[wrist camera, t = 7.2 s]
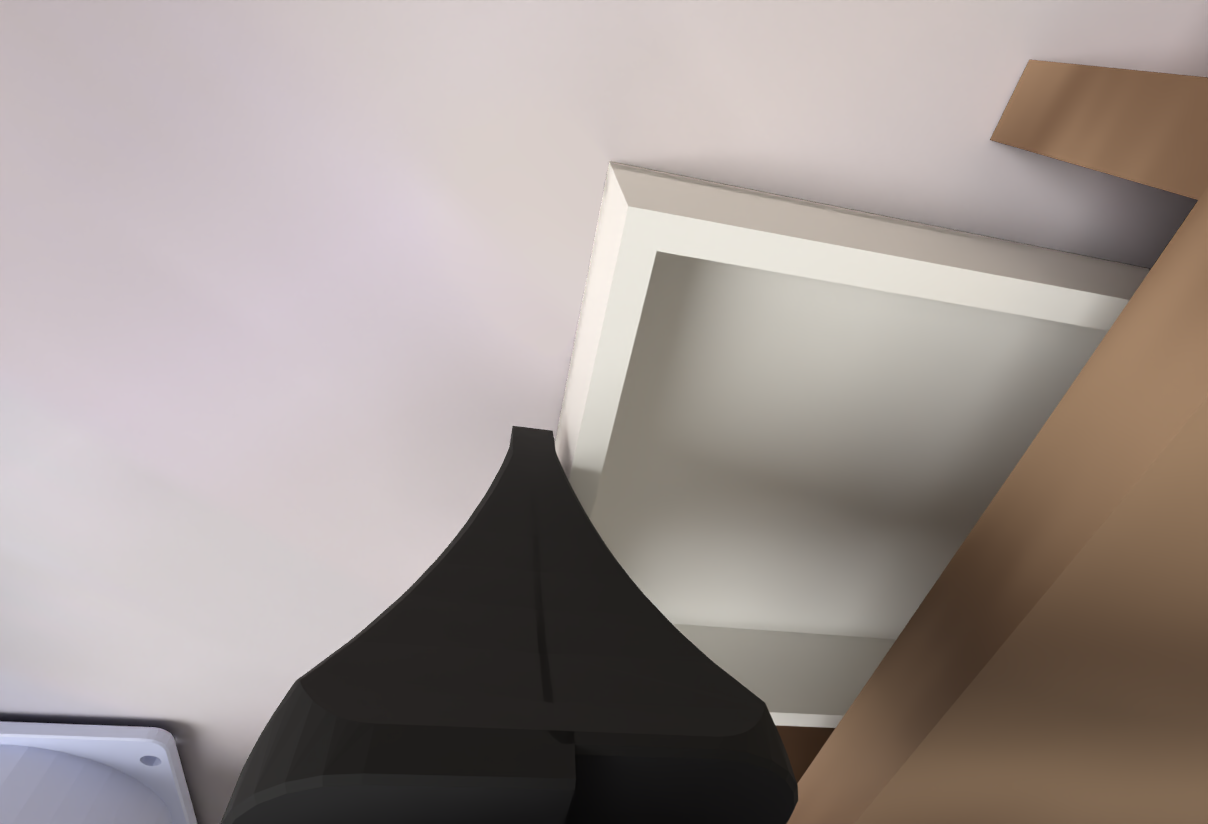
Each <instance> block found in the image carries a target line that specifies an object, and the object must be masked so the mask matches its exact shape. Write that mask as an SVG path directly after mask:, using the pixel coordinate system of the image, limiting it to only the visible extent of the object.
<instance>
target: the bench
mask: <svg viewBox="0 0 1208 824" xmlns="http://www.w3.org/2000/svg"><path fill="white" fill-rule="evenodd" d="M990 140H992V141H996V142H999V143H1003V144H1006V145H1010V146H1013V147H1017V148H1020V149H1024V150H1027V151H1030V152H1034V153H1037V154H1041V155H1044V156H1048V157H1051V158H1055V159H1058V160H1062V161H1065V162H1068V163H1072V164H1075V165H1079V166H1082V167H1086V168H1089V169H1093V170H1096V171H1100V172H1103V173H1106V174H1110V175H1113V176H1117V177H1120V178H1124V179H1127V180H1131V181H1134V182H1138V183H1141V184H1144V185H1148V186H1151V187H1155V188H1158V189H1162V190H1165V191H1169V192H1172V193H1176V194H1179V195H1182V196H1186V197H1189V198H1193V199H1196V200H1198V201H1197V203H1196V204H1195V206H1194V207H1193V209H1192V210H1191V212H1190V213H1189V214H1188V216H1187V217H1186V219H1185V220H1184V222H1183V223H1182V225H1181V226H1180V228H1179V229H1178V230H1177V232H1176V233H1175V235H1174V236H1173V238H1172V239H1171V241H1170V242H1169V244H1168V245H1167V246H1166V248H1165V249H1164V251H1163V252H1162V254H1161V255H1160V257H1159V258H1158V260H1157V261H1156V262H1155V264H1154V265H1153V267H1152V268H1151V270H1150V271H1149V273H1148V274H1147V276H1146V277H1145V278H1144V280H1143V281H1142V283H1141V284H1140V286H1139V287H1138V289H1137V290H1136V292H1135V293H1134V294H1133V296H1132V297H1131V299H1130V300H1129V302H1128V303H1127V305H1126V306H1125V308H1124V309H1123V310H1122V312H1121V313H1120V315H1119V316H1118V318H1117V319H1116V321H1115V322H1114V324H1113V325H1112V326H1111V328H1110V329H1109V331H1108V332H1107V334H1106V335H1105V337H1104V338H1103V340H1102V341H1101V342H1100V344H1099V345H1098V347H1097V348H1096V350H1095V351H1094V353H1093V354H1092V356H1091V357H1090V358H1089V360H1088V361H1087V363H1086V364H1085V366H1084V367H1083V369H1082V370H1081V372H1080V373H1079V374H1078V376H1077V377H1076V379H1075V380H1074V382H1073V383H1072V385H1071V386H1070V388H1069V389H1068V390H1067V392H1066V393H1065V395H1064V396H1063V398H1062V399H1061V401H1060V402H1059V404H1058V405H1057V407H1056V408H1055V409H1054V411H1053V412H1052V414H1051V415H1050V417H1049V418H1048V420H1047V421H1046V423H1045V424H1044V425H1043V427H1042V428H1041V430H1040V431H1039V433H1038V434H1037V436H1036V437H1035V439H1034V440H1033V441H1032V443H1031V444H1030V446H1029V447H1028V449H1027V450H1026V452H1025V453H1024V455H1023V456H1022V457H1021V459H1020V460H1019V462H1018V463H1017V465H1016V466H1015V468H1014V469H1013V471H1012V472H1011V473H1010V475H1009V476H1008V478H1007V479H1006V481H1005V482H1004V484H1003V485H1002V487H1001V488H1000V489H999V491H998V492H997V494H996V495H995V497H994V498H993V500H992V501H991V503H990V504H989V505H988V507H987V508H986V510H985V511H984V513H983V514H982V516H981V517H980V519H979V520H978V521H977V523H976V524H975V526H974V527H973V529H972V530H971V532H970V533H969V535H968V536H967V537H966V539H965V540H964V542H963V543H962V545H961V546H960V548H959V549H958V551H957V552H956V553H955V555H954V556H953V558H952V559H951V561H950V562H949V564H948V565H947V567H946V568H945V569H944V571H943V572H942V574H941V575H940V577H939V578H938V580H937V581H936V583H935V584H934V585H933V587H932V588H931V590H930V591H929V593H928V594H927V596H926V597H925V599H924V600H923V601H922V603H921V604H920V606H919V607H918V609H917V610H916V612H915V613H914V615H913V616H912V617H911V619H910V620H909V622H908V623H907V625H906V626H905V628H904V629H903V631H902V632H901V633H900V635H899V636H898V638H897V639H896V641H895V642H894V644H893V645H892V647H891V648H890V649H889V651H888V652H887V654H886V655H885V657H884V658H883V660H882V661H881V663H880V664H879V666H878V667H877V668H876V670H875V671H874V673H873V674H872V676H871V677H870V679H869V680H868V682H867V683H866V684H865V686H864V687H863V689H862V690H861V692H860V693H859V695H858V696H857V698H856V699H855V700H854V702H853V703H852V705H851V706H850V708H849V709H848V711H847V712H846V714H845V715H844V716H843V718H842V719H841V721H840V722H839V724H838V725H837V727H836V728H826V727H803V726H779V725H775V726H776V728H777V730H778V732H779V734H780V737H781V739H782V742H783V744H784V747H785V749H786V752H787V754H788V757H789V760H790V764H791V767H792V770H793V773H794V776H795V779H796V782H797V785H798V802H797V804H796V806H795V809H794V811H793V813H792V815H791V817H790V819H789V820H788V822H787V823H786V824H1208V78H1207V77H1197V76H1187V75H1177V74H1167V73H1157V72H1147V71H1137V70H1127V69H1117V68H1107V67H1097V66H1087V65H1077V64H1067V63H1057V62H1047V61H1037V60H1029V62H1028V64H1027V66H1026V68H1025V70H1024V72H1023V74H1022V76H1021V78H1020V80H1019V82H1018V84H1017V86H1016V88H1015V90H1014V92H1013V94H1012V96H1011V98H1010V100H1009V102H1008V104H1007V106H1006V108H1005V110H1004V112H1003V114H1002V117H1001V119H1000V121H999V123H998V125H997V127H996V129H995V131H994V133H993V135H992V137H991V139H990Z"/></svg>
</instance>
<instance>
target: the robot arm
mask: <svg viewBox="0 0 1208 824" xmlns="http://www.w3.org/2000/svg"><path fill="white" fill-rule="evenodd" d="M797 802H798V785H797V782H796V779H795V776H794V773H793V770H792V767H791V764H790V760H789V757H788V754H787V752H786V749H785V747H784V744H783V742H782V739H781V737H780V734H779V732H778V730H777V728H776V726H775V724H774V721H773V719H772V717H771V715H770V713H769V710H768V708H767V706H766V703H765V702H764V701H762V700H761V699H760V698H759V697H757V696H756V695H755V694H754V693H752V692H751V691H750V690H748V689H747V688H746V687H745V686H743V685H742V684H741V683H740V682H738V681H737V680H736V679H734V678H733V677H732V676H731V675H729V674H728V673H727V672H726V671H724V670H723V669H722V668H720V667H719V666H718V665H717V664H715V663H714V662H713V661H712V660H711V659H709V658H708V657H707V656H706V655H705V654H704V653H703V652H702V651H701V650H699V649H698V648H697V647H696V646H695V645H694V644H693V643H692V642H691V641H690V640H688V639H687V638H686V637H685V636H684V635H683V634H682V633H681V632H680V631H679V630H678V629H677V628H676V627H675V626H674V625H673V624H672V623H671V622H670V621H669V620H668V619H667V618H666V617H665V616H664V615H663V614H662V613H661V612H660V611H659V610H658V609H657V607H656V606H655V605H654V604H653V603H652V602H651V601H650V600H649V599H648V598H647V597H646V596H645V595H644V594H643V592H642V591H641V590H640V589H639V588H638V586H637V585H636V584H635V583H634V582H633V580H632V579H631V578H630V577H629V575H628V574H627V573H626V572H625V570H624V569H623V568H622V566H621V565H620V564H619V562H618V561H617V560H616V558H615V557H614V556H613V554H612V553H611V551H610V550H609V549H608V547H607V546H606V544H605V543H604V541H603V540H602V538H601V537H600V535H599V533H598V532H597V530H596V529H595V527H594V526H593V524H592V522H591V521H590V519H589V517H588V516H587V514H586V512H585V510H584V509H583V507H582V505H581V503H580V501H579V500H578V498H577V496H576V494H575V492H574V490H573V488H572V486H571V484H570V482H569V480H568V478H567V476H566V474H565V472H564V470H563V468H562V465H561V463H560V461H559V458H558V456H557V453H556V450H555V442H554V437H553V431H550V430H541V429H533V428H525V427H517V426H513V428H512V434H511V441H510V447H509V450H508V452H507V455H506V457H505V459H504V461H503V464H502V466H501V468H500V470H499V472H498V473H497V475H496V477H495V479H494V481H493V482H492V484H491V486H490V488H489V489H488V491H487V493H486V494H485V496H484V498H483V499H482V501H481V502H480V504H479V505H478V506H477V508H476V509H475V511H474V512H473V514H472V515H471V517H470V518H469V520H468V521H467V523H466V524H465V525H464V527H463V528H462V529H461V531H460V532H459V533H458V534H457V536H456V537H455V538H454V540H453V541H452V542H451V543H450V544H449V546H448V547H447V548H446V549H445V550H444V552H443V553H442V554H441V555H440V556H439V557H438V559H437V560H436V561H435V562H434V563H433V564H432V565H431V566H430V567H429V568H428V569H427V570H426V571H425V573H424V574H423V575H422V576H421V577H420V578H419V579H418V580H417V581H416V582H415V583H414V584H413V585H412V586H411V587H410V588H409V589H408V590H407V591H406V592H405V593H404V594H403V595H402V596H401V597H400V598H399V599H398V600H396V601H395V602H394V603H393V604H392V605H391V606H390V607H389V608H387V609H386V610H385V611H384V612H383V613H382V614H381V615H379V616H378V617H377V618H376V619H375V620H374V621H373V622H372V623H370V624H369V625H368V626H367V627H366V628H365V629H364V630H362V631H361V632H360V633H359V634H358V635H356V636H355V637H354V638H353V639H351V640H350V641H349V642H348V643H346V644H345V645H344V646H342V647H341V648H340V649H338V650H337V651H335V652H334V653H333V654H331V655H330V656H329V657H327V658H326V659H325V660H323V661H322V662H321V663H319V664H318V665H317V666H315V667H314V668H313V669H311V670H310V671H309V672H307V673H306V674H305V675H303V676H302V677H300V678H299V679H298V680H297V681H296V682H295V683H294V684H293V686H292V687H291V689H290V690H289V691H288V693H287V694H286V696H285V697H284V699H283V700H282V702H281V703H280V705H279V706H278V708H277V709H276V711H275V712H274V714H273V715H272V717H271V719H270V720H269V722H268V724H267V725H266V727H265V728H264V730H263V732H262V733H261V735H260V737H259V739H258V741H257V742H256V744H255V746H254V748H253V750H252V752H251V754H250V755H249V757H248V759H247V761H246V763H245V765H244V767H243V769H242V772H241V774H240V777H239V779H238V782H237V784H236V787H235V789H234V792H233V794H232V797H231V799H230V802H229V804H228V807H227V809H226V812H225V814H224V817H223V819H222V822H221V824H786V823H787V822H788V820H789V819H790V817H791V815H792V813H793V811H794V809H795V806H796V804H797ZM0 824H197V820H196V817H195V813H194V809H193V806H192V802H191V798H190V795H189V791H188V787H187V784H186V780H185V776H184V773H183V769H182V765H181V762H180V758H179V754H178V751H177V747H176V743H175V740H174V738H173V736H172V734H171V733H169V732H168V731H166V730H164V729H161V728H156V727H137V726H110V725H84V724H57V723H30V722H4V721H0Z"/></svg>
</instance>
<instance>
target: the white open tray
mask: <svg viewBox="0 0 1208 824" xmlns="http://www.w3.org/2000/svg"><path fill="white" fill-rule="evenodd" d="M1150 270H1151V269H1148V268H1143V267H1138V266H1133V265H1128V264H1123V263H1118V262H1113V261H1108V260H1103V259H1098V258H1093V257H1088V256H1083V255H1078V254H1073V253H1068V252H1063V251H1058V250H1053V249H1048V248H1043V247H1038V246H1033V245H1028V244H1023V243H1018V242H1012V241H1007V240H1002V239H997V238H992V237H987V236H982V235H977V234H972V233H967V232H962V231H957V230H952V229H947V228H942V227H937V226H932V225H927V224H922V223H917V222H912V221H907V220H902V219H897V218H892V217H887V216H882V215H877V214H872V213H867V212H862V211H856V210H851V209H846V208H841V207H836V206H831V205H826V204H821V203H816V202H811V201H806V200H801V199H796V198H791V197H786V196H781V195H776V194H771V193H766V192H761V191H756V190H751V189H746V188H741V187H736V186H731V185H726V184H721V183H716V182H711V181H706V180H701V179H695V178H690V177H685V176H680V175H675V174H670V173H665V172H660V171H655V170H650V169H645V168H640V167H635V166H630V165H625V164H620V163H615V162H610V161H609V166H608V171H607V176H606V181H605V186H604V192H603V197H602V202H601V207H600V212H599V217H598V223H597V228H596V233H595V238H594V243H593V248H592V253H591V259H590V264H589V269H588V274H587V279H586V284H585V290H584V295H583V300H582V305H581V310H580V315H579V321H578V326H577V331H576V336H575V341H574V346H573V352H572V357H571V362H570V367H569V372H568V377H567V382H566V388H565V393H564V398H563V403H562V408H561V413H560V419H559V424H558V429H557V434H556V439H555V450H556V453H557V456H558V458H559V461H560V463H561V465H562V468H563V470H564V472H565V474H566V476H567V478H568V480H569V482H570V484H571V486H572V488H573V490H574V492H575V494H576V496H577V498H578V500H579V501H580V503H581V505H582V507H583V509H584V510H585V512H586V514H587V516H588V517H589V519H590V521H591V522H592V524H593V526H594V527H595V529H596V530H597V532H598V533H599V535H600V537H601V538H602V540H603V541H604V543H605V544H606V546H607V547H608V549H609V550H610V551H611V553H612V554H613V556H614V557H615V558H616V560H617V561H618V562H619V564H620V565H621V566H622V568H623V569H624V570H625V572H626V573H627V574H628V575H629V577H630V578H631V579H632V580H633V582H634V583H635V584H636V585H637V586H638V588H639V589H640V590H641V591H642V592H643V594H644V595H645V596H646V597H647V598H648V599H649V600H650V601H651V602H652V603H653V604H654V605H655V606H656V607H657V609H658V610H659V611H660V612H661V613H662V614H663V615H664V616H665V617H666V618H667V619H668V620H669V621H670V622H671V623H672V624H673V625H674V626H675V627H676V628H677V629H678V630H679V631H680V632H681V633H682V634H683V635H684V636H685V637H686V638H687V639H688V640H690V641H691V642H692V643H693V644H694V645H695V646H696V647H697V648H698V649H699V650H701V651H702V652H703V653H704V654H705V655H706V656H707V657H708V658H709V659H711V660H712V661H713V662H714V663H715V664H717V665H718V666H719V667H720V668H722V669H723V670H724V671H726V672H727V673H728V674H729V675H731V676H732V677H733V678H734V679H736V680H737V681H738V682H740V683H741V684H742V685H743V686H745V687H746V688H747V689H748V690H750V691H751V692H752V693H754V694H755V695H756V696H757V697H759V698H760V699H761V700H762V701H764V702H765V703H766V706H767V708H768V710H769V713H770V715H771V717H772V719H773V721H774V724H775V725H779V726H803V727H826V728H836V727H837V725H838V724H839V722H840V721H841V719H842V718H843V716H844V715H845V714H846V712H847V711H848V709H849V708H850V706H851V705H852V703H853V702H854V700H855V699H856V698H857V696H858V695H859V693H860V692H861V690H862V689H863V687H864V686H865V684H866V683H867V682H868V680H869V679H870V677H871V676H872V674H873V673H874V671H875V670H876V668H877V667H878V666H879V664H880V663H881V661H882V660H883V658H884V657H885V655H886V654H887V652H888V651H889V649H890V648H891V647H892V645H893V644H894V642H895V641H896V639H897V638H898V636H899V635H900V633H901V632H902V631H903V629H904V628H905V626H906V625H907V623H908V622H909V620H910V619H911V617H912V616H913V615H914V613H915V612H916V610H917V609H918V607H919V606H920V604H921V603H922V601H923V600H924V599H925V597H926V596H927V594H928V593H929V591H930V590H931V588H932V587H933V585H934V584H935V583H936V581H937V580H938V578H939V577H940V575H941V574H942V572H943V571H944V569H945V568H946V567H947V565H948V564H949V562H950V561H951V559H952V558H953V556H954V555H955V553H956V552H957V551H958V549H959V548H960V546H961V545H962V543H963V542H964V540H965V539H966V537H967V536H968V535H969V533H970V532H971V530H972V529H973V527H974V526H975V524H976V523H977V521H978V520H979V519H980V517H981V516H982V514H983V513H984V511H985V510H986V508H987V507H988V505H989V504H990V503H991V501H992V500H993V498H994V497H995V495H996V494H997V492H998V491H999V489H1000V488H1001V487H1002V485H1003V484H1004V482H1005V481H1006V479H1007V478H1008V476H1009V475H1010V473H1011V472H1012V471H1013V469H1014V468H1015V466H1016V465H1017V463H1018V462H1019V460H1020V459H1021V457H1022V456H1023V455H1024V453H1025V452H1026V450H1027V449H1028V447H1029V446H1030V444H1031V443H1032V441H1033V440H1034V439H1035V437H1036V436H1037V434H1038V433H1039V431H1040V430H1041V428H1042V427H1043V425H1044V424H1045V423H1046V421H1047V420H1048V418H1049V417H1050V415H1051V414H1052V412H1053V411H1054V409H1055V408H1056V407H1057V405H1058V404H1059V402H1060V401H1061V399H1062V398H1063V396H1064V395H1065V393H1066V392H1067V390H1068V389H1069V388H1070V386H1071V385H1072V383H1073V382H1074V380H1075V379H1076V377H1077V376H1078V374H1079V373H1080V372H1081V370H1082V369H1083V367H1084V366H1085V364H1086V363H1087V361H1088V360H1089V358H1090V357H1091V356H1092V354H1093V353H1094V351H1095V350H1096V348H1097V347H1098V345H1099V344H1100V342H1101V341H1102V340H1103V338H1104V337H1105V335H1106V334H1107V332H1108V331H1109V329H1110V328H1111V326H1112V325H1113V324H1114V322H1115V321H1116V319H1117V318H1118V316H1119V315H1120V313H1121V312H1122V310H1123V309H1124V308H1125V306H1126V305H1127V303H1128V302H1129V300H1130V299H1131V297H1132V296H1133V294H1134V293H1135V292H1136V290H1137V289H1138V287H1139V286H1140V284H1141V283H1142V281H1143V280H1144V278H1145V277H1146V276H1147V274H1148V273H1149V271H1150Z"/></svg>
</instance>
